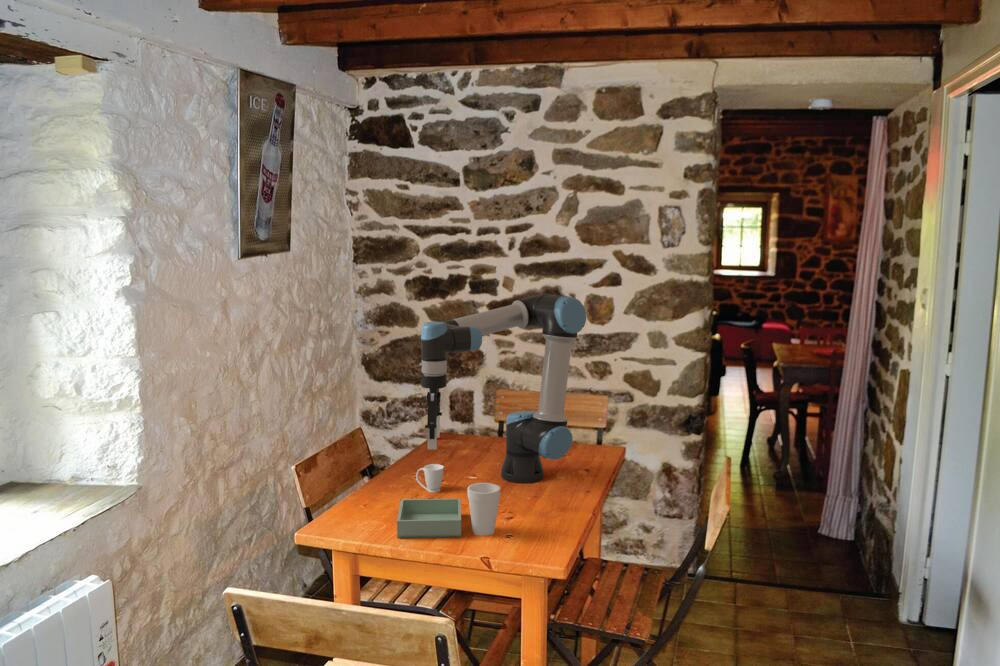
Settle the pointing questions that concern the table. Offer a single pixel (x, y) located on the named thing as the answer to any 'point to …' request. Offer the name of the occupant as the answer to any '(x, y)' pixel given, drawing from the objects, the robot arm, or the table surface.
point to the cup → (432, 477)
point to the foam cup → (483, 507)
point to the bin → (429, 518)
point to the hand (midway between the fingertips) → (433, 443)
